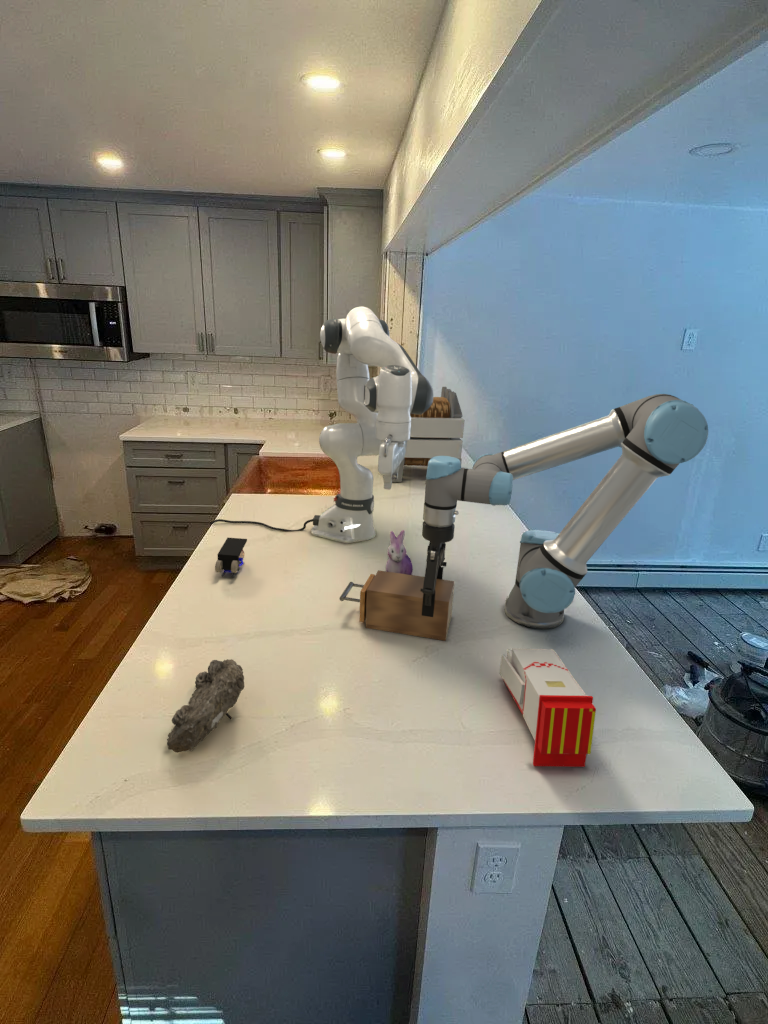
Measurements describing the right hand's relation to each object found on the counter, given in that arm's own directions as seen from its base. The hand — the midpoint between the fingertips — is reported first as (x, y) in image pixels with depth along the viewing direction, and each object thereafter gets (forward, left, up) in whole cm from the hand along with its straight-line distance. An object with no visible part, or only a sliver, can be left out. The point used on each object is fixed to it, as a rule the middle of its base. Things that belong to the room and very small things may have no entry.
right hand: (431, 602), depth 140 cm
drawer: (+10, -5, -6) cm, 12 cm away
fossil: (+51, +27, -7) cm, 57 cm away
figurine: (+2, -26, -7) cm, 27 cm away
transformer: (-33, -137, -7) cm, 141 cm away
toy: (-12, +35, -7) cm, 38 cm away
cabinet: (+5, -2, -7) cm, 9 cm away
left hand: (+7, -20, +25) cm, 33 cm away
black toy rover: (+50, -38, -7) cm, 63 cm away
